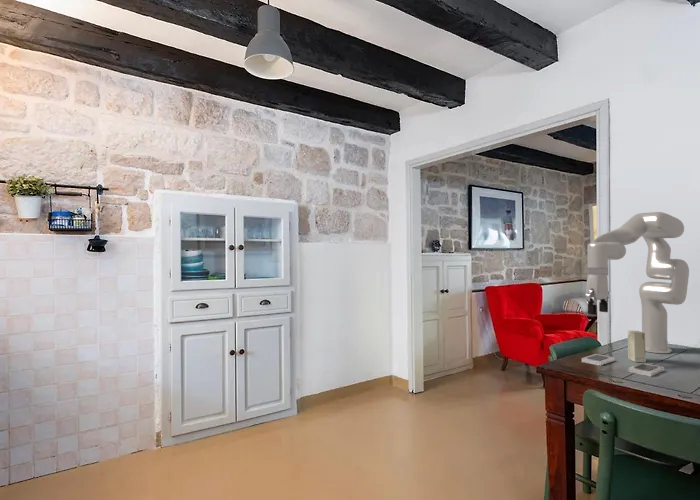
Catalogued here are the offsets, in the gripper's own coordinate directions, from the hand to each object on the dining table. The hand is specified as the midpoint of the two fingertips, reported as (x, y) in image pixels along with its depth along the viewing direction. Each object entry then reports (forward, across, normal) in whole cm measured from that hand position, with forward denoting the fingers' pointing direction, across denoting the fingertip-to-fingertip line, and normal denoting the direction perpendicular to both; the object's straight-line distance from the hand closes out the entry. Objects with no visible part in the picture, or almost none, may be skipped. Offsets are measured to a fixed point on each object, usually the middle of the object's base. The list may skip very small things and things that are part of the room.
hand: (597, 312), depth 176 cm
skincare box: (+20, -14, +9) cm, 27 cm away
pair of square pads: (+20, 0, +9) cm, 22 cm away
